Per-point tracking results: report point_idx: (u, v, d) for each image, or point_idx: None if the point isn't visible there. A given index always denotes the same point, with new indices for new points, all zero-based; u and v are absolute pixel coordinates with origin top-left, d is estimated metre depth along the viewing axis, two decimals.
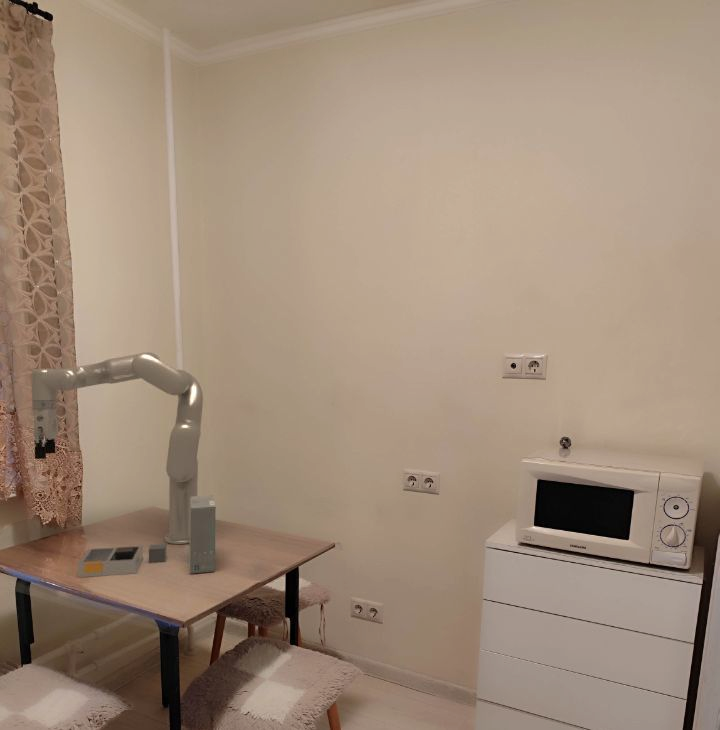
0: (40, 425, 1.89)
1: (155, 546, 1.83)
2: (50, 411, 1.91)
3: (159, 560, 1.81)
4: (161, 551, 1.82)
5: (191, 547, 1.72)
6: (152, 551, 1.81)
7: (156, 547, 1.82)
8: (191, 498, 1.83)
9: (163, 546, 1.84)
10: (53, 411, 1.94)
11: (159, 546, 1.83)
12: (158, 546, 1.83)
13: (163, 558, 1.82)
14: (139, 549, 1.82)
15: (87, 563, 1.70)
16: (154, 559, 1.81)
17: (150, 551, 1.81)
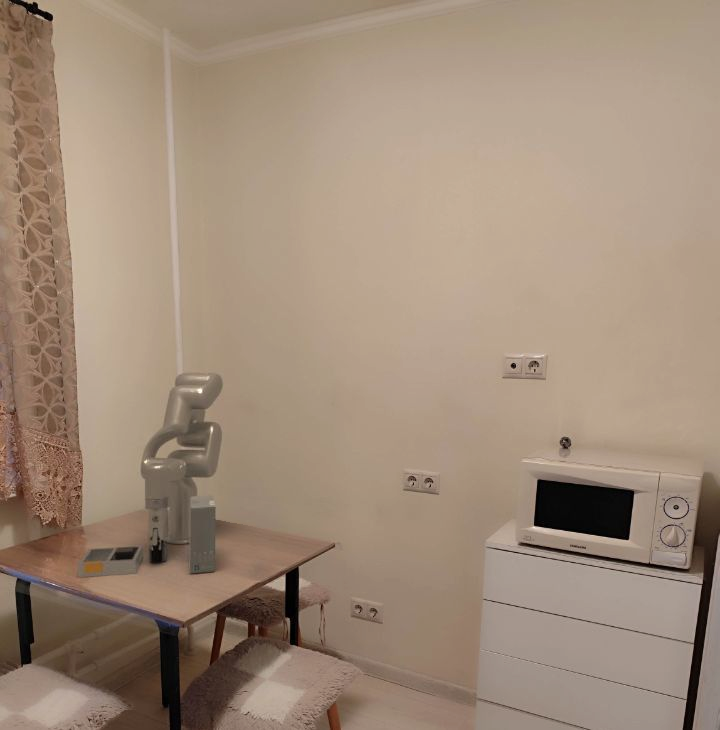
0: (155, 526, 1.78)
1: None
2: (164, 509, 1.81)
3: None
4: None
5: (191, 547, 1.72)
6: None
7: None
8: (191, 498, 1.83)
9: (162, 544, 1.84)
10: (166, 508, 1.83)
11: None
12: None
13: (164, 557, 1.82)
14: (139, 549, 1.82)
15: (87, 563, 1.70)
16: None
17: (150, 551, 1.81)
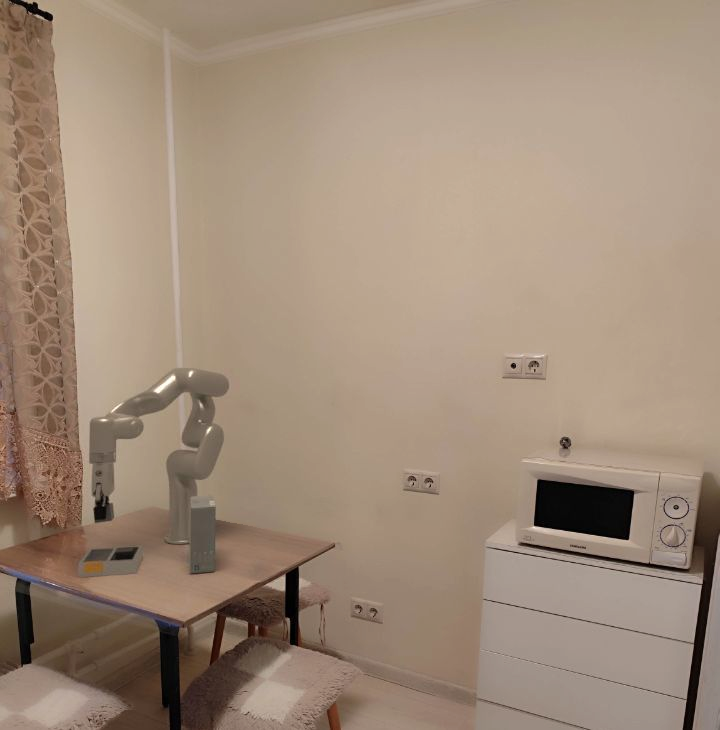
0: (99, 481, 1.71)
1: None
2: (109, 464, 1.74)
3: (105, 519, 1.74)
4: (107, 510, 1.74)
5: (191, 547, 1.72)
6: None
7: None
8: (191, 498, 1.83)
9: (108, 504, 1.77)
10: (111, 464, 1.76)
11: (105, 505, 1.76)
12: None
13: (109, 516, 1.75)
14: (139, 549, 1.82)
15: (87, 563, 1.70)
16: None
17: None
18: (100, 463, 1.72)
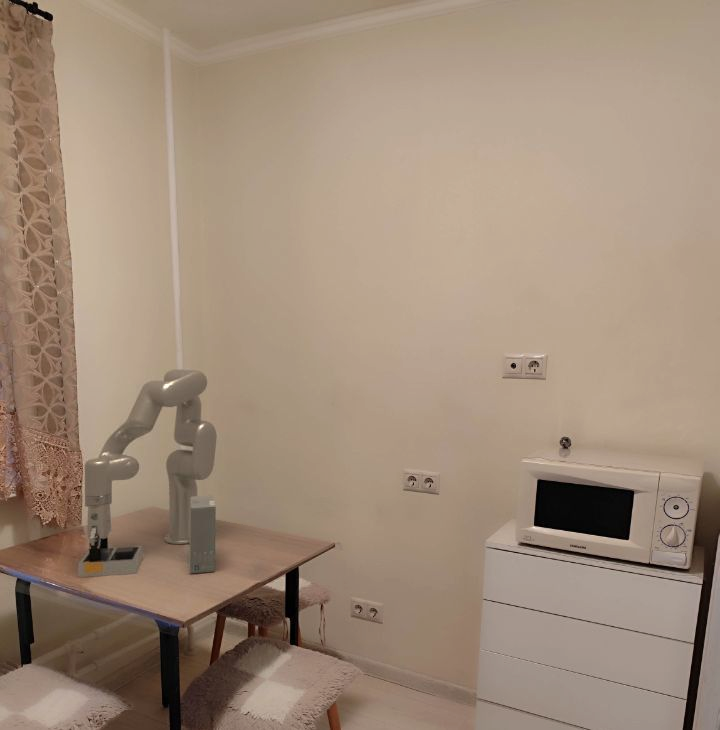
0: (95, 524, 1.71)
1: None
2: (105, 507, 1.74)
3: None
4: (105, 556, 1.75)
5: (191, 547, 1.72)
6: None
7: None
8: (191, 498, 1.83)
9: (107, 550, 1.77)
10: (107, 506, 1.76)
11: (103, 550, 1.77)
12: (102, 550, 1.77)
13: None
14: (139, 549, 1.82)
15: (87, 563, 1.70)
16: None
17: None
18: (95, 506, 1.72)
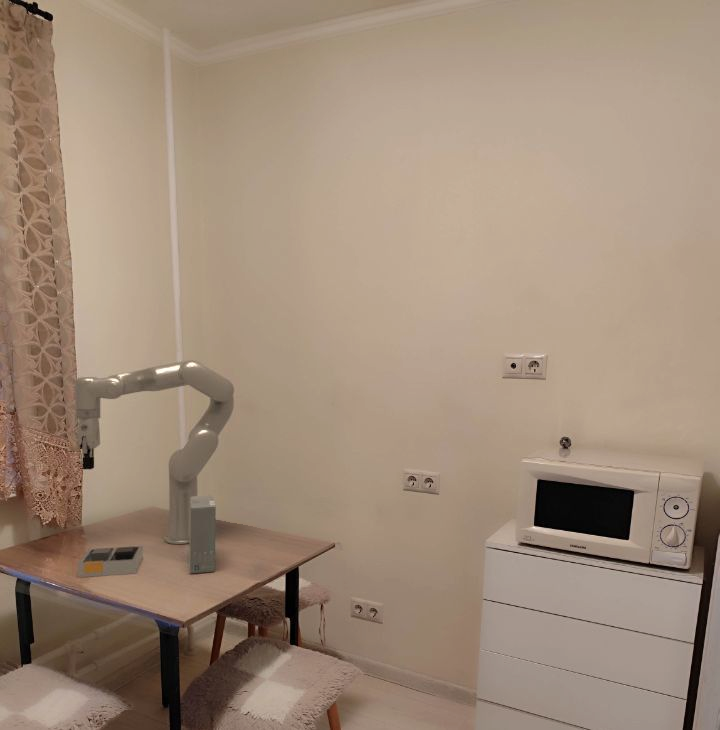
0: (84, 434, 1.87)
1: (99, 550, 1.76)
2: (94, 420, 1.90)
3: None
4: (105, 556, 1.75)
5: (191, 547, 1.72)
6: (95, 555, 1.74)
7: (100, 551, 1.76)
8: (191, 498, 1.83)
9: (107, 550, 1.77)
10: (96, 420, 1.92)
11: (103, 550, 1.77)
12: (102, 550, 1.77)
13: None
14: (139, 549, 1.82)
15: (87, 563, 1.70)
16: None
17: (93, 555, 1.74)
18: (85, 418, 1.88)
